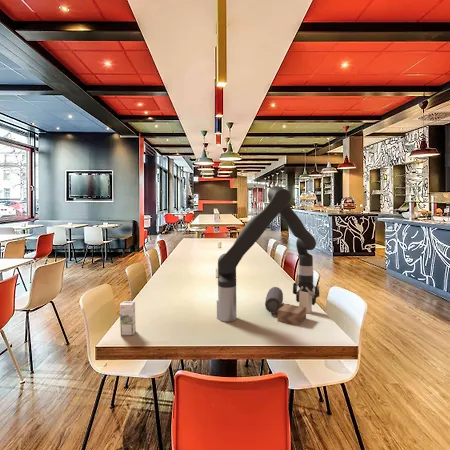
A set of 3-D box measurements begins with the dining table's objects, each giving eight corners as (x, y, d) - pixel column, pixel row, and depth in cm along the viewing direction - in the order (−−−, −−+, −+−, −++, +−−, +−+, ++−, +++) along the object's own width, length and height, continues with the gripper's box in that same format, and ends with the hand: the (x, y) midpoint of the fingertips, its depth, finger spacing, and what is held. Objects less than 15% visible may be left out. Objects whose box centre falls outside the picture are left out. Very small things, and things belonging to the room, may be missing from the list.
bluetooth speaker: (282, 316, 179) (282, 297, 179) (264, 315, 181) (264, 296, 181) (283, 303, 202) (283, 286, 201) (267, 302, 204) (267, 285, 203)
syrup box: (136, 330, 161) (135, 300, 160) (133, 335, 155) (132, 304, 154) (123, 331, 161) (122, 300, 160) (120, 336, 155) (119, 304, 154)
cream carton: (299, 311, 186) (299, 289, 185) (303, 309, 190) (303, 287, 189) (307, 313, 183) (308, 291, 182) (311, 311, 187) (312, 289, 186)
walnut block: (277, 321, 172) (277, 310, 171) (285, 315, 181) (285, 304, 181) (298, 325, 166) (298, 313, 166) (306, 318, 175) (306, 307, 175)
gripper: (290, 273, 186) (290, 302, 187) (315, 276, 177) (315, 307, 178) (296, 270, 192) (296, 299, 193) (321, 273, 183) (321, 303, 184)
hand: (305, 303), depth 186 cm, fingers open, 8 cm apart
